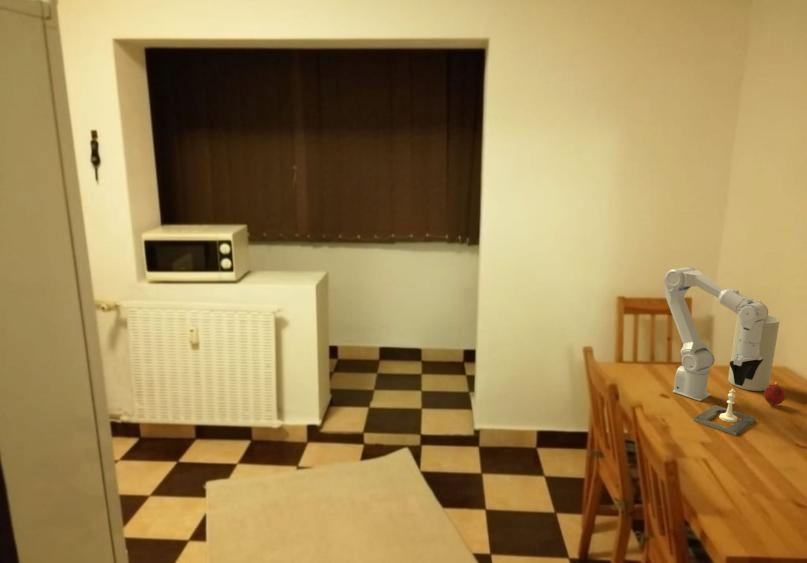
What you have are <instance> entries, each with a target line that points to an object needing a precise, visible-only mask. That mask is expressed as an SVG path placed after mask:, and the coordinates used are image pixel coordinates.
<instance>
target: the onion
mask: <svg viewBox="0 0 807 563" xmlns="http://www.w3.org/2000/svg"><path fill="white" fill-rule="evenodd" d="M763 397H764V399H765V401H766V402H767V403H768V404H770V405H771V406H776V405H779V404H782V403H783V402H784V401H785V400H786V392H785V390H784V388H782V387H781V386H780V385H779V383H778V382H774V384H772V385H769V387H767V388H766V389H765V390H764V392H763Z"/></svg>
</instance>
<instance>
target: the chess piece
mask: <svg viewBox="0 0 807 563" xmlns="http://www.w3.org/2000/svg"><path fill="white" fill-rule="evenodd" d="M728 392H729V393H728V394H727V397H728V400H726V403H727V404H728V405H727V408H726V409H727V411H726V412H725V413H720V414H719V416H718V417H719V419H720V420H722V421H723V422H726V423H736V422H737V421H739V419H738V417H737V416H734V415H733V414H732V411H733V405H735V404H736V403H735V401H734V399H735V398H736V394H734V393H736V390H735V389H734V388H731V390H729V391H728Z"/></svg>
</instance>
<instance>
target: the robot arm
mask: <svg viewBox="0 0 807 563" xmlns="http://www.w3.org/2000/svg"><path fill="white" fill-rule="evenodd" d="M663 282H664V285H665V288H664V290H665V291H664V296H665V299H666V302H667V305H668V307H669V310H670V313H671V315H672V318H673V320H674V324H675V326H676V329H677V331H678V334H679V337H680V340H681V342H682V344H683V345H682V348H681V349H680V354H681V365H680V366H679V367H678V368H677V370H676V371H675V375H674V376H675V377H674V383H673V384H674V385H673V390H672V393H675V394H677V395H679V396H683V397H686V398H689V399H692V400H695V401H699V402H701V401H704V400H706V399H707V398H709V397H710V396H711V393H709V392H707V389H708V380H709V374H710V368H711V367H712V366H713V365H714V364H715V361H716V360H715V355H714V354H713V352H712V351H711V350H710V349H709V347H708V345H707V343H705V342H703V340H701V338H700V335H699V333H698V330H697V327H696V326H695V322H694V320H693V317H692V315H691V312H690V309H689V306H688V304H687V301H686V299H685V296H686V294H687V292H688V290H689V289H691V287H697V288H699V289H700V290H703V291H704V292H706V293H709V294H711V295H712V296H713V297H716V298H717V299H718V301H719V304H720V305H722V306H723V307H726V308H727V309H728V310H730V311H732V312H733V313H735V314H736V315H737V314H738V315H739V318H740V319H741V326H740V334H739V341H738V348H737V352H736V358H734V361H731V360H730V361H729V368H730V367H731V369H732V371H733V376H734V383H735V384H736V385H740V386H742V385H743V384H744V381H745V378H746V379H749V380H752V379H753V377H754V375H755V372H756V370H757V368H758V366H759V365H760V364H761V362H762V361H763V359H762V357H761V356H759V354H760V350H759V347H760V340H761V334H762V326H763V319H765V318H766V317H767V315H769V308H768V306H767V305H766V304H765V303H764V302H762V301H753V298H751V297H749V298H748V297H747V296H745V295H743V294H742V293H740V291H739V289H736V288H728V289H725V288H724V287H723V286H721V285H719V284H718V283H716V282H715V281H714V280H712V279H710V278H709V277H708V276H706V275H704V274H703V273H702V272H701V270H698V269H695V268H694V267H692V266H685V267H681V268H672V269H670V270H668V271H667V272H666V273H665V276H664V277H663ZM760 320H761V321H760Z"/></svg>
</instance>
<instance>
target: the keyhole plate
mask: <svg viewBox="0 0 807 563" xmlns="http://www.w3.org/2000/svg"><path fill="white" fill-rule="evenodd" d="M726 411H727V408H726V407H723V406H719V405H716V404H714V405H713V406H711V407H709V408H708V409H707V410H704V411H703V412H701V413H700V414H698V415H696V416H695V417H694V419H693V421H694V422H696V423H699V424H702V425H705V426H708V427H710V428H713V429H716V430H719V431H721V432H724V433H728V434H730V435H732V436H735V437H737V436H738V435H739V434H740V433H742V432H743V431H744V430H746V429H747V428H749V427H750V426H751V425H753V424H754V423H755V422H756V420H757V418H756V417H753V416H750V415H747V414H744V413H741V412H738V411H735V410H732V414H733V415H734V416H736V417H737V418H739V419H741V420H738V421H737V422H733V424H732V425H730V426H725V425H722V424H720V423H716V422H714V421H712V419H713V418H716V416H717V414H719V413H720V414H722V413H725V412H726Z"/></svg>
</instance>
